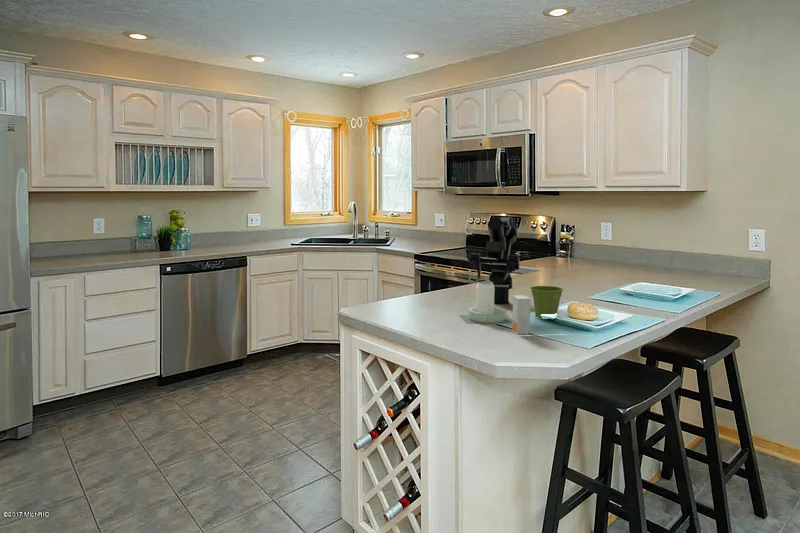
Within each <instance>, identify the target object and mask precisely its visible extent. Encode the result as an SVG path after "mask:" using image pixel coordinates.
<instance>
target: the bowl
mask: <svg viewBox="0 0 800 533" xmlns="http://www.w3.org/2000/svg"><path fill="white" fill-rule="evenodd" d="M467 315H468V316H469V319H470V320H472V321H475V322H481V323H490V324H500V323H499V322H503V321H505V320H506V315H507V310H506V309H505V308H502V307H498V306H494V313H479V312H476V306H471V307H469V308H468V309H467Z"/></svg>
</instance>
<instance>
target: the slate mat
mask: <svg viewBox="0 0 800 533" xmlns="http://www.w3.org/2000/svg"><path fill="white" fill-rule="evenodd" d="M458 317H460V319H462V321H463V322H465V323H466V325H477V324H478V325H482V324H484V325H486V324H487V325H488V324H489V325H490V324H491V323H481V322H475V321H472V320H470V319H469V316H468V314H458ZM512 318H513V317H510V316H509V315H507V314H506V320H505V321H503V322H499V323H498V324H512Z"/></svg>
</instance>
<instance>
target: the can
mask: <svg viewBox="0 0 800 533" xmlns="http://www.w3.org/2000/svg"><path fill="white" fill-rule="evenodd" d="M475 287H476V291H475V292H476V295H475V307H476V312H479V313H494V307H495V304H494V285H493V282H489V280H488V281H487V280H486V281H483V280H482V281H478V282H477V285H476V286H475Z"/></svg>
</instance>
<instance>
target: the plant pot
mask: <svg viewBox="0 0 800 533" xmlns="http://www.w3.org/2000/svg"><path fill="white" fill-rule="evenodd" d="M529 288H530V290H531V294H532V300H533V304H534V305H533V306H534V314H535V318H536V317H538V318H541V319H540V320H543V319H542V317H541V316H540V315H541V314H555V313H557V314H558V312H559V311H558V310H559V306H560V300H561V297H562V293H563V292H564V290H565V289H564V288H563V287H560V286H551V285H534V286H531V287H529ZM538 318H537V319H538Z"/></svg>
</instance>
